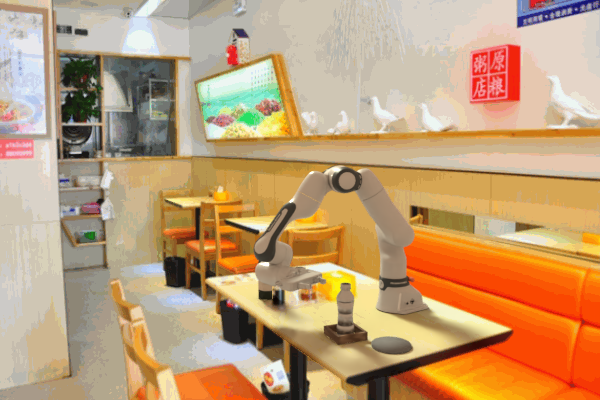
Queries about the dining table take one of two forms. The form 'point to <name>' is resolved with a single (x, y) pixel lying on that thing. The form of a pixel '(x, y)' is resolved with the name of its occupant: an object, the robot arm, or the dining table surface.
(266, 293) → the wine bottle
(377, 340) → the serving mat
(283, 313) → the dining table surface
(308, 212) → the robot arm
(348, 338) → the bottle holder
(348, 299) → the plastic bottle
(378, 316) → the dining table surface
